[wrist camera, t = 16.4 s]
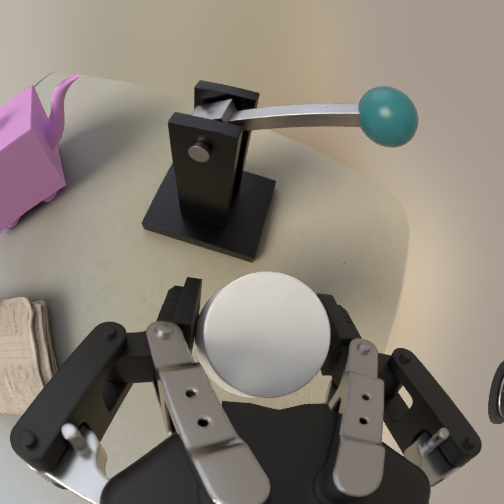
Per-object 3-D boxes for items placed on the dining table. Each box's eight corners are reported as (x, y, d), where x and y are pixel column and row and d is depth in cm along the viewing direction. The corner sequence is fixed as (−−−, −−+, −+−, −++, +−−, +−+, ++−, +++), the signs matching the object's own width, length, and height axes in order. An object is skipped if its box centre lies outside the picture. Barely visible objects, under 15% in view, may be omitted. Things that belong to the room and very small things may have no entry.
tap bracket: (273, 187, 29) (309, 93, 17) (252, 262, 25) (289, 181, 13) (178, 160, 28) (171, 62, 17) (143, 228, 25) (105, 135, 13)
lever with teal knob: (411, 125, 14) (413, 78, 11) (419, 162, 12) (426, 111, 9) (217, 129, 19) (197, 94, 16) (200, 162, 18) (174, 124, 15)
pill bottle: (212, 294, 19) (216, 236, 10) (287, 314, 20) (354, 277, 10) (190, 370, 17) (170, 387, 8) (269, 390, 17) (326, 420, 8)
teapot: (-12, 252, 21) (-74, 205, 9) (-14, 195, 23) (-58, 144, 11) (112, 169, 27) (81, 82, 15) (94, 123, 29) (72, 49, 18)
